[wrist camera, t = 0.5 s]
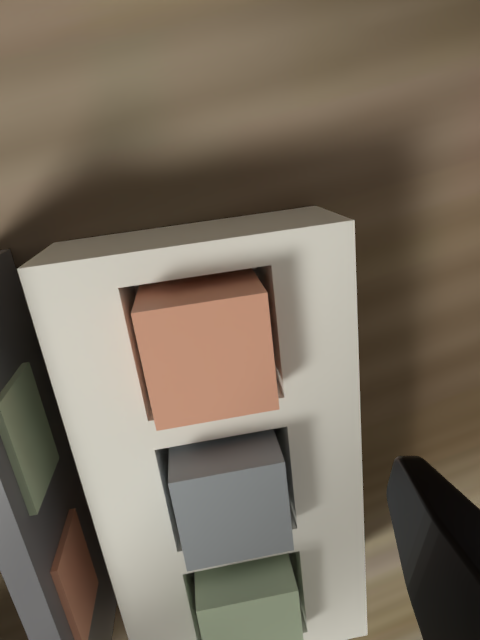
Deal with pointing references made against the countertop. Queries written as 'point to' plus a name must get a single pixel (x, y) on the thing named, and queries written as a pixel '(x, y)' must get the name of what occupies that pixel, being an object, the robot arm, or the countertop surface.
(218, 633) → the sage key
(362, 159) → the countertop surface
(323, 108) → the countertop surface
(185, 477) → the slate key
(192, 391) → the terracotta key
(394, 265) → the countertop surface
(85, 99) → the countertop surface
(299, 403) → the keypad housing
